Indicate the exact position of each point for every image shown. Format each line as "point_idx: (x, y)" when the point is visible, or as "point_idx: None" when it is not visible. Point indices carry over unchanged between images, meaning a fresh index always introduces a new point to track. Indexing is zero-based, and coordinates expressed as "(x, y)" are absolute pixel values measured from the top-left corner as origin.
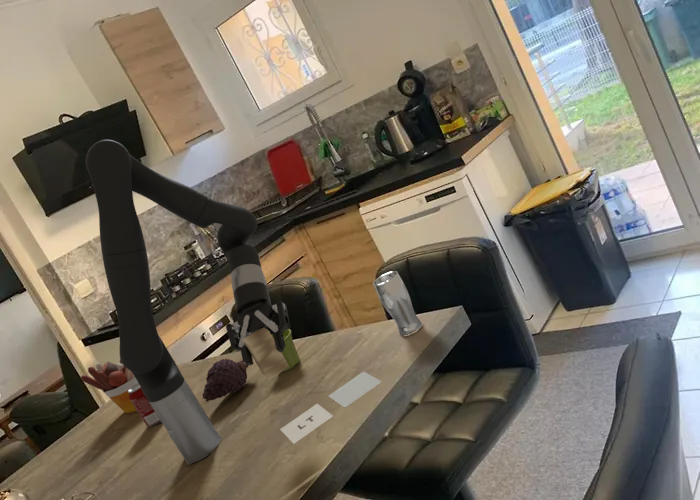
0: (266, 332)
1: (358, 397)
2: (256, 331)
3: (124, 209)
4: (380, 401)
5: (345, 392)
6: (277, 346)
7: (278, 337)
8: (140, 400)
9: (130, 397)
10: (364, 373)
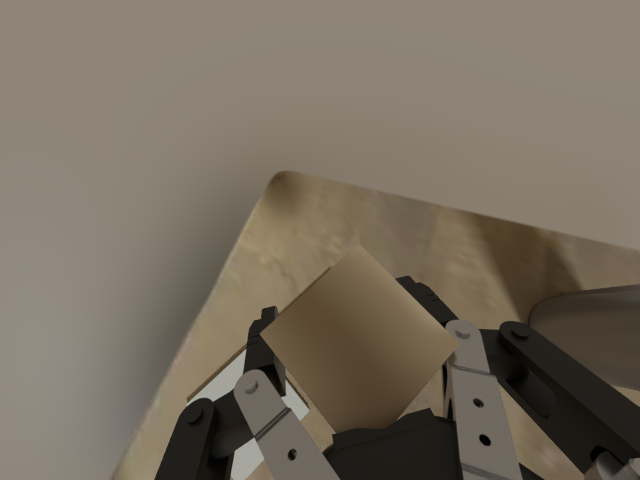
0: (273, 321)
1: (231, 366)
2: (385, 405)
3: None
4: (187, 335)
5: None
6: (268, 312)
7: (256, 353)
8: None
9: None
10: (233, 473)
